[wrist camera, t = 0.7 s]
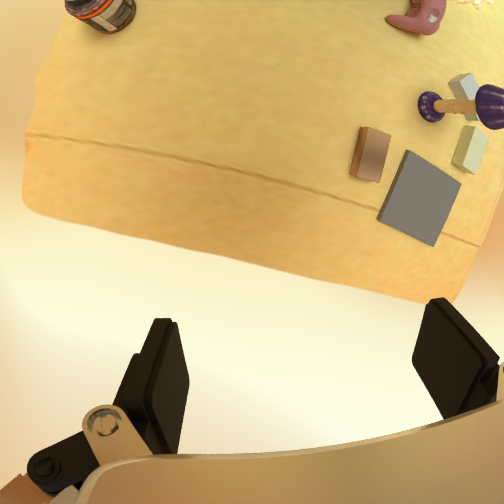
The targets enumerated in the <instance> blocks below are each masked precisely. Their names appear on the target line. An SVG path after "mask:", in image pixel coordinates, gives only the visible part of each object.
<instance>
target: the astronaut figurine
mask: <svg viewBox="0 0 504 504" xmlns="http://www.w3.org/2000/svg"><path fill="white" fill-rule="evenodd" d="M454 1H455V2H456V3H467V2H471V1H472V3H473V4H474V6H475V7H476V8H477V9H480V8H481V6H482V3H481V2H482V0H454ZM485 2H486V3H488V4H492V3H493V2H494V0H485Z"/></svg>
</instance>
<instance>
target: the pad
mask: <svg viewBox="0 0 504 504" xmlns="http://www.w3.org/2000/svg"><path fill="white" fill-rule="evenodd" d="M460 187H461V183H459V182H458V181H457V180H455V179H454V178H452V177H451V176H449V175H448V174H446V173H445V172H443V171H442V170H440V169H439V168H437V167H436V166H434V165H433V164H431V163H429V162H428V161H426V160H425V159H423V158H421V157H420V156H418V155H417V154H415V153H413V152H412V151H410V150H406V152H405V154H404V157H403V159H402V162H401V164H400V166H399V169H398V171H397V174H396V176H395V178H394V181H393V183H392V185H391V188H390V190H389V192H388V195H387V197H386V199H385V201H384V204H383V206H382V208H381V210H380V213H379V215H378V217H377V219H378V220H379V221H381V222H383V223H385V224H387V225H390V226H392V227H394V228H396V229H398V230H400V231H402V232H404V233H406V234H408V235H410V236H412V237H414V238H416V239H418V240H420V241H422V242H424V243H426V244H428V245H430V246H432V247H434V245H435V243H436V241H437V239H438V237H439V234H440V232H441V230H442V228H443V226H444V224H445V222H446V219H447V217H448V215H449V213H450V210H451V208H452V206H453V203H454V201H455V199H456V196H457V194H458V191H459V189H460Z"/></svg>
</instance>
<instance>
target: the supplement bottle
mask: <svg viewBox="0 0 504 504" xmlns="http://www.w3.org/2000/svg"><path fill="white" fill-rule="evenodd" d="M65 7H66V10H67V11H68V13H70V14H71V15H72V16H74V17H76V18H78V19H79V20H81V21H83V22H85V23H87V24H88V25H90V26H92V27H93V28H95V29H97V30H99V31H101V32H104V33H113V32H116V31H119V30H121V29H123V28H124V27H125V26H126V25H128V24H129V22H130V21H131V20H132V18H133V17H134V14H135V10H136V5H135V2H134V0H65Z"/></svg>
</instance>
